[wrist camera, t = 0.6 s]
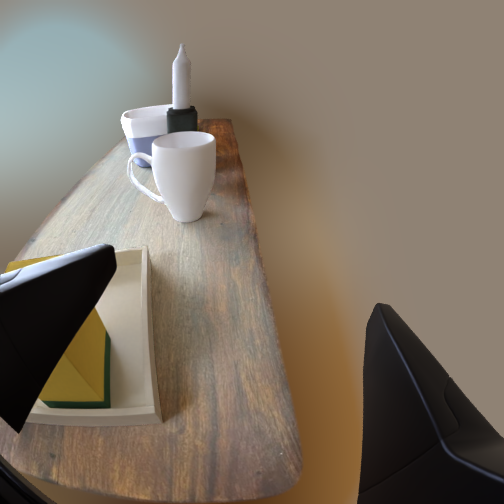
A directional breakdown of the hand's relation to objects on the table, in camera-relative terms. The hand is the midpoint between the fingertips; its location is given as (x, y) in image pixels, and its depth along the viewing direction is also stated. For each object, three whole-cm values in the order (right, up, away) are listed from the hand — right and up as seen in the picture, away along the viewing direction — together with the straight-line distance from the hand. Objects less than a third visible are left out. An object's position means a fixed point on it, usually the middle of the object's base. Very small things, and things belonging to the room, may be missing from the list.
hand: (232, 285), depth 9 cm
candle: (-12, +14, +42) cm, 46 cm away
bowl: (-20, +22, +51) cm, 59 cm away
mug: (-11, +6, +32) cm, 34 cm away
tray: (-15, -7, +15) cm, 22 cm away
